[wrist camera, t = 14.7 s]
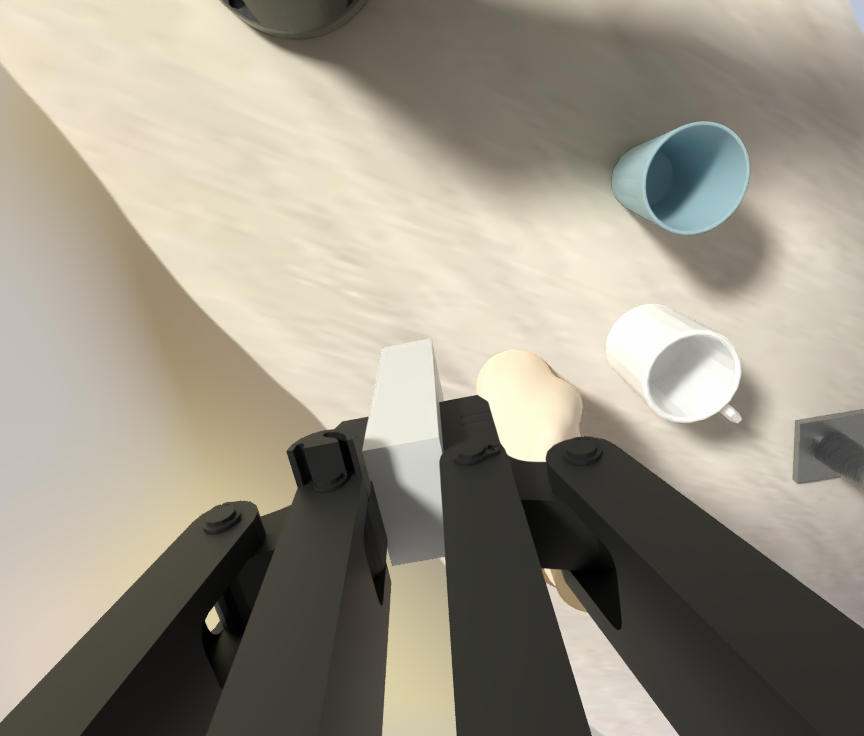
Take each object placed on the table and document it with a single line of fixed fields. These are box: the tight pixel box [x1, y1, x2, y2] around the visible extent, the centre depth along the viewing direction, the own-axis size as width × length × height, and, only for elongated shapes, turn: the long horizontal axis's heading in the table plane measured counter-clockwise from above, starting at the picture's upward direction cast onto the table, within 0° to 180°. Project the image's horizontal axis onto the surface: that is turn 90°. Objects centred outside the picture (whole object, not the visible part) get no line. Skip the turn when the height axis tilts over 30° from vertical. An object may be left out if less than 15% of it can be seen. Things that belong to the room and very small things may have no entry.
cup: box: [612, 121, 750, 235], centre depth 45 cm, size 8×8×10 cm
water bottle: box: [476, 350, 587, 612], centre depth 43 cm, size 10×9×28 cm
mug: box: [606, 304, 742, 423], centre depth 51 cm, size 8×12×10 cm
